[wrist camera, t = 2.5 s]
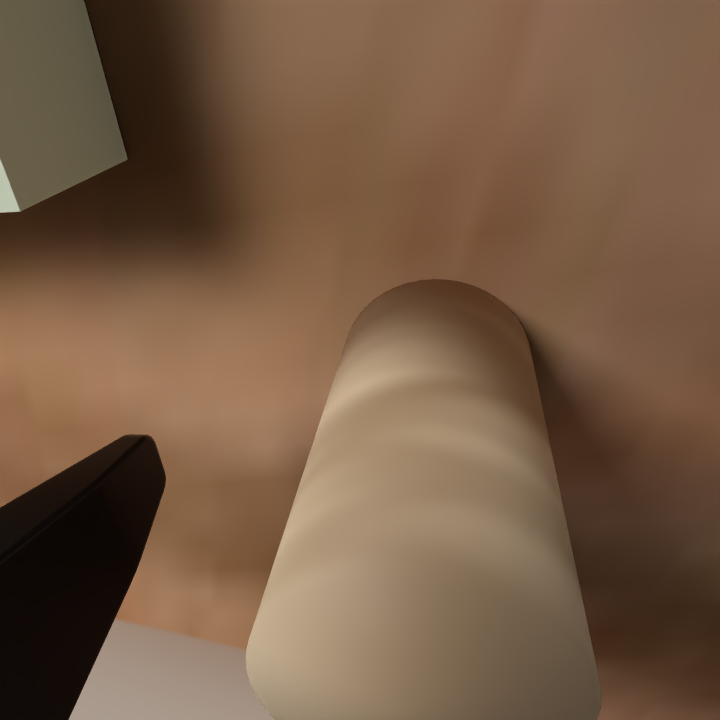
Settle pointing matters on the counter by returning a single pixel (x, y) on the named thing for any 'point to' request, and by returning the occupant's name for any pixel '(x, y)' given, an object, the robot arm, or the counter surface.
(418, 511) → the peg
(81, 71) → the box
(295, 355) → the counter surface
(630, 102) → the counter surface
